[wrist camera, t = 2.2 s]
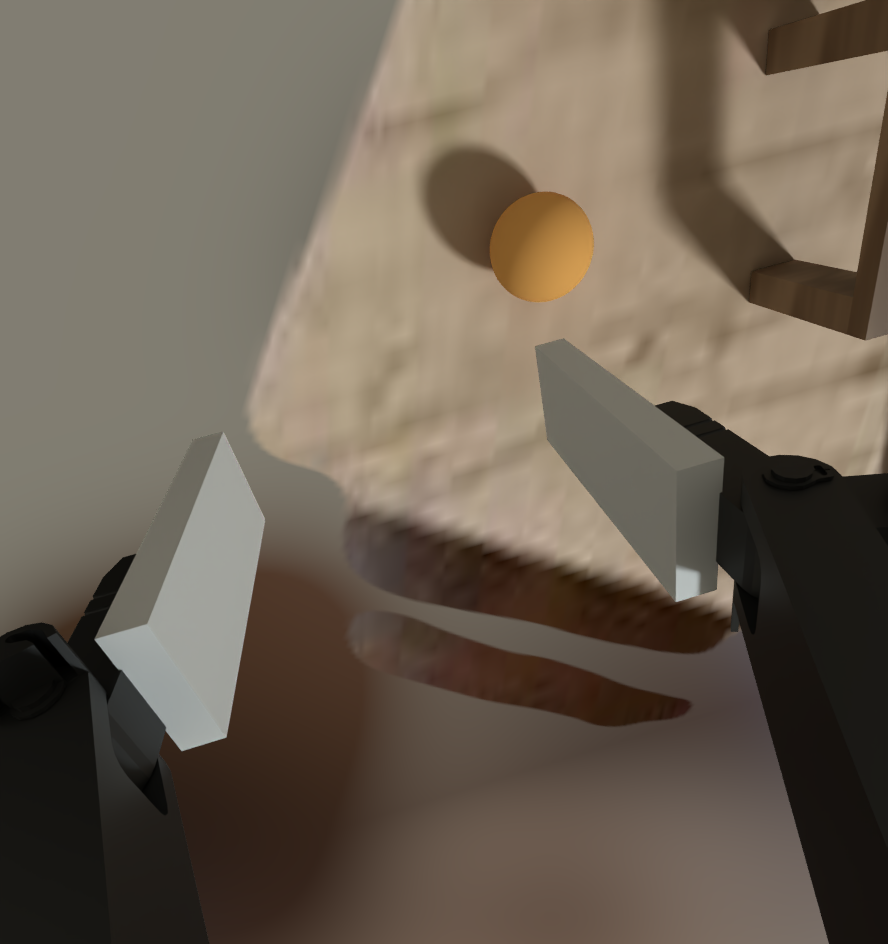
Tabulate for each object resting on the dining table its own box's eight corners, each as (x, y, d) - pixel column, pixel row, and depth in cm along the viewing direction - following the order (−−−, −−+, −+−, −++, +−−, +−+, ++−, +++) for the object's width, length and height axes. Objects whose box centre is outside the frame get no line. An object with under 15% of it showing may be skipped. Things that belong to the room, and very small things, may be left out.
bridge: (821, 16, 29) (1004, -39, 21) (791, 290, 37) (918, 325, 29) (768, 29, 29) (932, -21, 21) (749, 302, 36) (865, 340, 29)
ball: (565, 178, 31) (608, 181, 26) (574, 278, 34) (614, 297, 29) (471, 203, 31) (497, 210, 26) (488, 301, 33) (514, 324, 29)
